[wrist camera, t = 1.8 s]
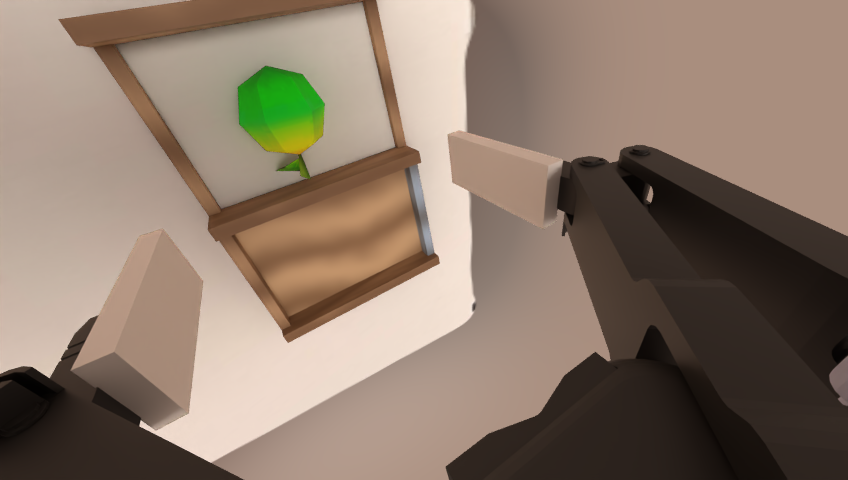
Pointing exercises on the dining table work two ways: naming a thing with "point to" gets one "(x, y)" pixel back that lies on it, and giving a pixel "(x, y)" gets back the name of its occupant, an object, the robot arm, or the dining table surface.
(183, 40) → the dining table surface
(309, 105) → the apple
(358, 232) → the frame
